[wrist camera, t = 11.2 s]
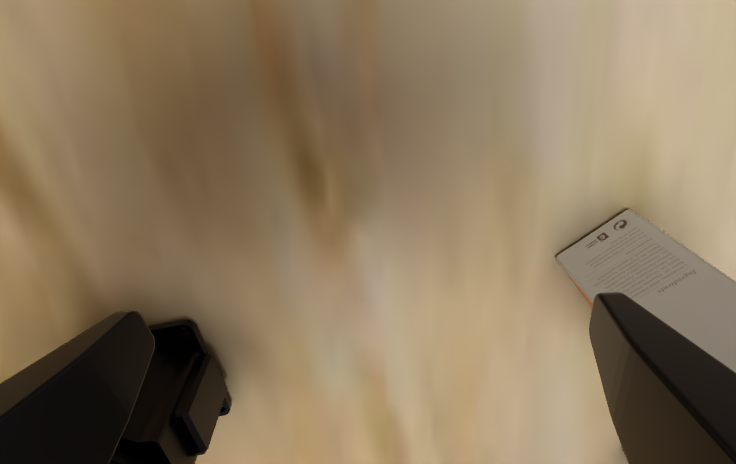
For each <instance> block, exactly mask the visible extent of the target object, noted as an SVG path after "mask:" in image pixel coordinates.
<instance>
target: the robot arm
mask: <svg viewBox="0 0 736 464" xmlns="http://www.w3.org/2000/svg"><path fill="white" fill-rule="evenodd" d="M182 328H185V329H187V330H188V331H184V330H183V329H182ZM589 334H590V340H591V344H592V347H593V351H594V355H595V359H596V362H597V366H598V370H599V374H600V377H601V381H602V385H603V389H604V392H605V396H606V400H607V404H608V407H609V411H610V414H611V418H612V421H613V424H614V426H615V429H616V432H617V435H618V437H619V440H620V442H621V445H622V447H623V450H624V452H625V455H626V457H627V460H628V462H629V464H736V372H734V371H733V370H731V369H730V368H729V367H727V366H726V365H724V364H723V363H722V362H720V361H719V360H717V359H716V358H714V357H713V356H712V355H710V354H709V353H707V352H706V351H705V350H703V349H702V348H700V347H699V346H697V345H696V344H695V343H693V342H692V341H690V340H689V339H688V338H686V337H685V336H683V335H682V334H680V333H679V332H678V331H676V330H675V329H673V328H672V327H671V326H669V325H668V324H666V323H665V322H663V321H662V320H661V319H659V318H658V317H656V316H655V315H654V314H652V313H651V312H649V311H648V310H647V309H645V308H644V307H642V306H641V305H639V304H638V303H637V302H635V301H634V300H632V299H631V298H630V297H628V296H627V295H625V294H623V293H621V292H606V293H598V294H597V295H596V296H595V298H594V301H593V307H592V313H591V319H590V325H589ZM231 405H232V404H231V401H230V398H229V396H228V394H227V386H226V384H225V382H224V380H223V378H222V375H221V373H220V371H219V369H218V367H217V364H216V362H215V360H214V358H213V356H212V355H211V354H210V353H208V351H207V348H206V346H205V344H204V342H203V340H202V338H201V335H200V333H199V331H198V329H197V327H196V325H195V324H194V323H193V322H192V321H190V320H180V321H175V322H170V323H164V324H159V325H154V326H149V327H148V326H147V324H146V322H145V321H144V319H143V317H142V315H141V314H140V313H139V312H137V311H119V312H116V313H114V314H112V315H111V316H109V317H107V318H106V319H104V320H102V321H101V322H99V323H98V324H96V325H94V326H93V327H91V328H90V329H88V330H86V331H85V332H83V333H81V334H80V335H78V336H77V337H75V338H73V339H72V340H70V341H68V342H67V343H65V344H64V345H62V346H60V347H59V348H57V349H56V350H54V351H52V352H51V353H49V354H47V355H46V356H44V357H43V358H41V359H39V360H38V361H36V362H35V363H33V364H31V365H30V366H28V367H26V368H25V369H23V370H22V371H20V372H18V373H17V374H15V375H14V376H12V377H10V378H9V379H7V380H5V381H4V382H2V383H1V384H0V464H195V462H196V459H197V456H198V455H202V454H205V452H206V451H207V449H208V447H209V444H210V441H211V438H212V435H213V431H214V428H215V425H216V422H217V419H218V416H223V415H226V414H228V413H229V411H230V408H231ZM222 406H224V407H222Z"/></svg>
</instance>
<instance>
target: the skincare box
mask: <svg viewBox="0 0 736 464" xmlns="http://www.w3.org/2000/svg"><path fill="white" fill-rule="evenodd" d="M556 259H557V261H558V262H559V264H560V265H561V266H562V267H563V269H564V270H565V271H566V273H567V274H568V275H569V277H570V278H571V279H572V281H573V282H574V283H575V285H576V286H577V287H578V289H579V290H580V291H581V293H582V294H583V295H584V297H585V298H586V299H587V301H588V302H589V304H590V305H591V306H592V307H593V301H594V298H595V296H596V295H597V294H598V293H606V292H621V293H623V294H625V295H627V296H628V297H630V298H631V299H632V300H634V301H635V302H637V303H638V304H639V305H641V306H642V307H644V308H645V309H647V310H648V311H649V312H651V313H652V314H654V315H655V316H656V317H658V318H659V319H661V320H662V321H663V322H665V323H666V324H668V325H669V326H671V327H672V328H673V329H675V330H676V331H678V332H679V333H680V334H682V335H683V336H685V337H686V338H688V339H689V340H690V341H692V342H693V343H695V344H696V345H697V346H699V347H700V348H702V349H703V350H705V351H706V352H707V353H709V354H710V355H712V356H713V357H714V358H716V359H717V360H719V361H720V362H722V363H723V364H724V365H726V366H727V367H729V368H730V369H731V370H733V371H734V372H736V281H734V280H733V279H731V278H730V277H729V276H727V275H726V274H724V273H723V272H721V271H720V270H718V269H717V268H715V267H714V266H712V265H711V264H710V263H708V262H707V261H705V260H704V259H702V258H701V257H699V256H698V255H697V254H695V253H694V252H692V251H691V250H690V249H688V248H687V247H685V246H684V245H682V244H681V243H679V242H678V241H676V240H675V239H674V238H672V237H671V236H669V235H668V234H666V233H665V232H664V231H662V230H661V229H659V228H657V227H656V226H655V225H653V224H652V223H650V222H649V221H647V220H646V219H644V218H643V217H642V216H640V215H639V214H637V213H636V212H634V211H633V210H631V209H629V210H626V211H624V212H623V213H621V214H620V215H618V216H617V217H615V218H614V219H612V220H610V221H609V222H607V223H606V224H604V225H603V226H602V227H600V228H599V229H597V230H596V231H594V232H592V233H591V234H589V235H588V236H586V237H585V238H584V239H582V240H580V241H579V242H577V243H576V244H574V245H573V246H571V247H569V248H568V249H566V250H565V251H563V252H562V253H560V254H559V255H558V256H557V257H556Z"/></svg>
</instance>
